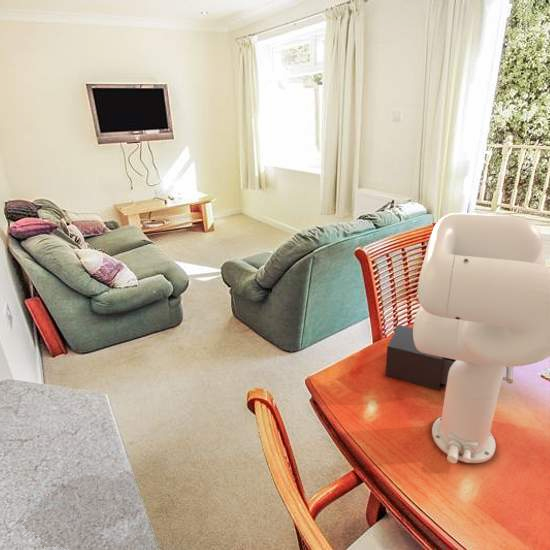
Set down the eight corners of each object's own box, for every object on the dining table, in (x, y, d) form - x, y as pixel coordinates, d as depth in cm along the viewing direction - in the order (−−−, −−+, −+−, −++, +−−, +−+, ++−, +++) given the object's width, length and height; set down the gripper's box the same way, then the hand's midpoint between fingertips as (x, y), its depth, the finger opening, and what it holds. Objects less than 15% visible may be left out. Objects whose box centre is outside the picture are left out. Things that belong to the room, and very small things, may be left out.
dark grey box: (445, 364, 106) (449, 335, 102) (438, 390, 97) (442, 359, 93) (396, 352, 113) (398, 324, 109) (385, 375, 104) (387, 346, 100)
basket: (509, 379, 98) (515, 354, 95) (508, 405, 90) (514, 379, 87) (436, 361, 107) (439, 337, 104) (429, 383, 99) (432, 359, 95)
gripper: (438, 290, 89) (431, 353, 96) (524, 303, 81) (508, 371, 88) (443, 278, 95) (435, 338, 102) (523, 289, 87) (509, 354, 94)
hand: (469, 353), depth 95 cm, fingers closed on onion, 5 cm apart
